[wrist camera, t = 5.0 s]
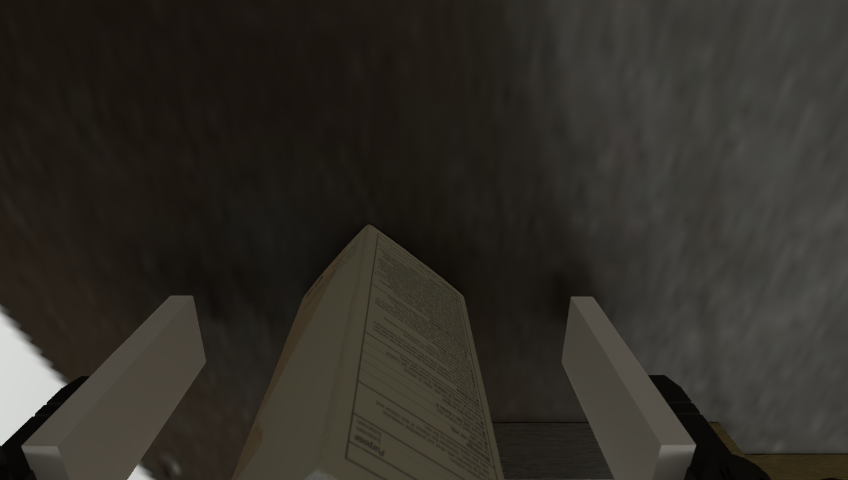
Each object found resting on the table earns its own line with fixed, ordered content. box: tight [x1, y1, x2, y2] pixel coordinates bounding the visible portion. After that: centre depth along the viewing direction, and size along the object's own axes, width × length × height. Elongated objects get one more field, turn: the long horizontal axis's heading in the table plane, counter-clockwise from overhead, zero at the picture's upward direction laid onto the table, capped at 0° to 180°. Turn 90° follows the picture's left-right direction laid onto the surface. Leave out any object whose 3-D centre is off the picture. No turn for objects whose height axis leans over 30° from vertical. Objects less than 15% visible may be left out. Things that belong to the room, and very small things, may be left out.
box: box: [231, 225, 504, 480], centre depth 14 cm, size 5×4×11 cm
